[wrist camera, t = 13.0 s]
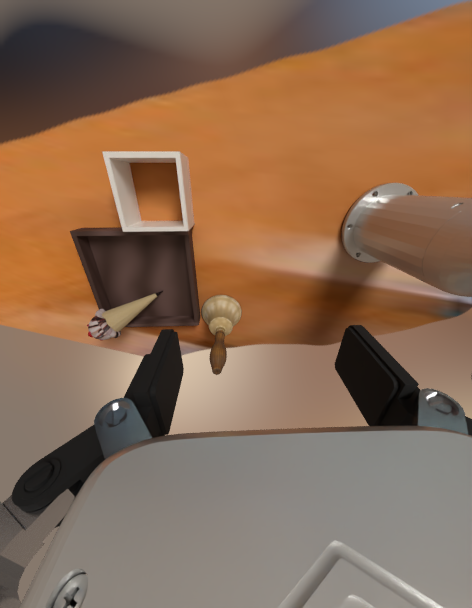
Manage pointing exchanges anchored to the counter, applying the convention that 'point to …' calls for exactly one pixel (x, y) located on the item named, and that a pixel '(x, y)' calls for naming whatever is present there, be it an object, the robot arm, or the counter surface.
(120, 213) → the frame
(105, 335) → the ice cream cone
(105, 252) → the tray
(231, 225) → the counter surface
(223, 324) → the hand bell
